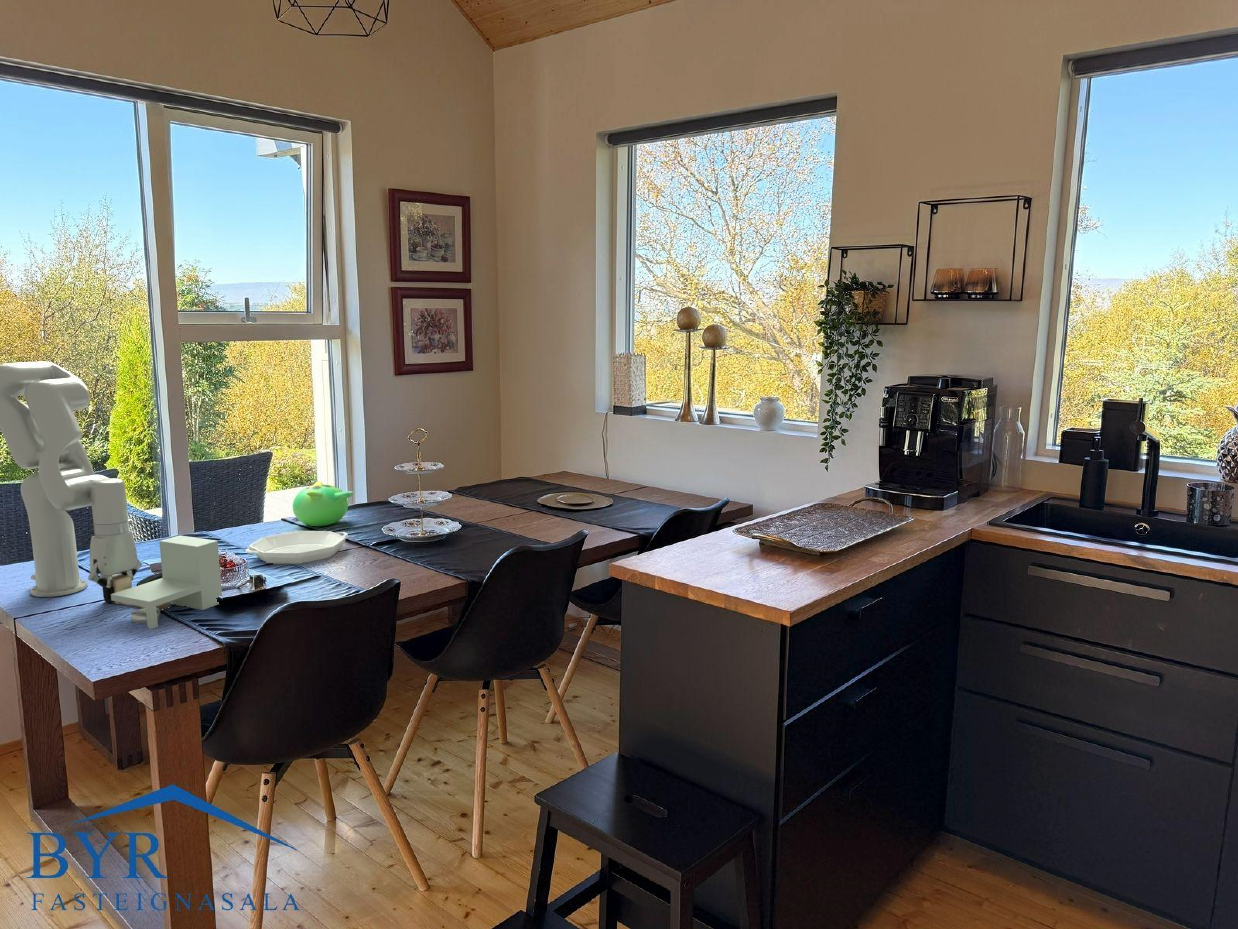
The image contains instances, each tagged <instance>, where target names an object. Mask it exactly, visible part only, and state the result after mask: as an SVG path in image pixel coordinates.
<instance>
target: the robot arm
mask: <svg viewBox="0 0 1238 929" xmlns="http://www.w3.org/2000/svg"><path fill="white" fill-rule="evenodd" d="M21 396H22V397H23V396H24V400H25V402H23V401H21V400H20V399H19V398H18V397H21ZM90 401H91V395H90V391H89V389H88V387H87V386H86V384H85V382H84V381H82V380H81V379H80V378H79V377H78V376H77V375H74V374H72V373H71V372H69V371H67V370H66V369H64V368H63V367H61V366H59V365H58V364H55V363H54V362H50V361H44V360H43V361H25V362H19V361H18V362H6V363H4V362H3V363H0V431H1V434H2V436H3V438H4V441H5V443H6V446H7V447H8V449H9V453H10V455H11V456H12V459H13V460H14V463H16V465H17V466H18V467H19V468H21V469H25V470H36V469H38V471H37V472H34V473H32V474H29V475H28V476H26V478H24V479H23V481H22V482H21V484H20V495H21V499H22V501H23V504H24V506H25V509H26V512H27V517H28V522H29V523H28V524H29V529H30V530H29V531H30V538H31V539H30V540H31V547H32V554H33V563H34V571H35V573H34V574H32V575H31V576H30V579H31V580H33V581H35V585H33V586H32V587H31V588H30V589H29V592H30V595H31V596H34V597H39V598H51V597H53V598H54V597H59V596H60V597H61V596H66V595H67V596H68V595H71V594H75V593H78V592H81V591H82V590H84V589H86V588H87V587H88V582H87V580H88V581H91V582H94V583H96V585H97V584H98V585H99V586H100V588H102V595H103V596H102V597H103V601H104V602H106V603H110V604H111V603H112V604H114V603H113V602H115V601H112V600H111V594H113V593H114V587H111V585H112V575H115V574H120V575H125V576H131V587H133V586H132V582H133V581H134V577H135V575H136V574H137V571H139V570H140V568H142V566H143V563H142V562H141V561H140V560H139V558H138V554H137V546H136V541H135V537H134V536H133V535H134V534H133V532H132V531H131V530H130V526H131V525H133V521H132V519H129V514H128V513H129V512H128V503H127V502H128V501H127V493H126V483H125V481H123V480H122V479H121V478H114V477H113V478H110V477H107V476H105V475H103V474H96V473H95V471H94V468H93V466H92V464H91V461H90V458H89V457H88V455H87V452H86V450H85V447H84V445H83V443H82V441H81V439H82V437H83V431H82V429H81V427H80V425H79V422H78V421H77V418H76V416H75V413H74V412H73V411H82V410H84V409H85V408H87V407H88V406H89V404H90ZM86 507H91V511H92V512H91V513H92V519H93V520H92V521H93V531H94V535H92V536H91V537H90V544H89V568H90V569H89V570H90V573H89V575H88V577H87V580H85V579H82V578H80V570H79V562H78V560H79V559H78V552H77V550H78V549H77V542H76V541H77V540H76V533H75V526H74V520H73V518H72V517H71V516H70V514H69V513H68V512H67V511H71V510H76V509H80V508H86ZM99 576H100V577H99Z"/></svg>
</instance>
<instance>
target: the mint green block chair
mask: <svg viewBox="0 0 1238 929" xmlns="http://www.w3.org/2000/svg"><path fill="white" fill-rule="evenodd" d="M161 578H163V576H162V571H161V572H157V573H155V574H151V575H148V576H147V577H145V578H143V579H141V580H140V581H138V582H137V583H136V586H137V585H142V584H145V583H148V582H152V581H155V580H158V579H161Z"/></svg>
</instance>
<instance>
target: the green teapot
mask: <svg viewBox="0 0 1238 929" xmlns="http://www.w3.org/2000/svg"><path fill="white" fill-rule="evenodd" d="M354 493H355V492H354V491H353V490H352V491H350V490H349V491H343V490H342V489H341V488H339V487H337V486H334V485H331V484H330V485H329V484H323V482H322V481H320V480H318V481H316V482H315V483H313V485H311V486H308V487H305V488H303V489H301V490H300V491H299V492H297V494H296V495H295V497H294V499H293V503H292V512H293V514H294V516H295V517H296V519H297V520H298V521H299V522H301V523H302V524H304V525H307V526H312V527H325V526H330V525H332V524H335V523H337V522H339V521H340V520H342V519H343V517H344V516H345V515H346V514H347V512H348V508H349V500H348V498H350V497H352V496H353V495H354Z"/></svg>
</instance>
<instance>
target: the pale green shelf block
mask: <svg viewBox="0 0 1238 929" xmlns="http://www.w3.org/2000/svg"><path fill="white" fill-rule="evenodd" d="M159 551H160V554H159V555H160V562H161V563H160V564H161V572H162V576H163V578H161V579H158V580H155V581H152V582H148V583H145V584H142V585H139V586H137V585H136V586H132V588H129V589H126V590H123V591H120V592H117V593H113V594H111V600H112V601H117V602H122V603H127V604H132V605H138V606H143V607H146V615H147V623H146V624H147V629H150V630H151V629H152V630H153V629H155V628H158V627H159V624H158V621H159V620H157V611H156V606H157V605H160V604H163V603H166V602H170V603H172V604H171V605H173V604H176V605H175V606H180V607H184V606H187V607H186V608H189V607H190V608H191V609H194V610H200V611H204V610H206V609H209V608H211V607H214V606H218V605H220V604H219V602H217V599H216V598H218V597H219V596H222V597H223V592H222V591H223V590H222V578H221V570H220V564H219V557H220V556H219V555H220V552H219V541H218V540H216V539H215V540H214V539H207V538H200V537H194V536H185V535H176V536H172V537H169V538H164V539H162V540H159Z"/></svg>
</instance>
